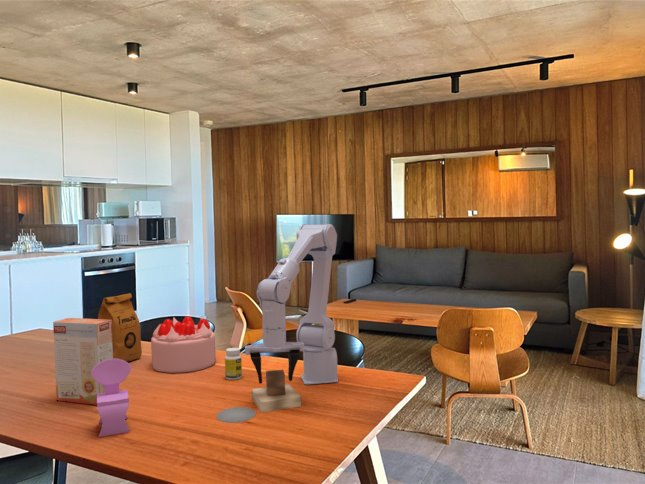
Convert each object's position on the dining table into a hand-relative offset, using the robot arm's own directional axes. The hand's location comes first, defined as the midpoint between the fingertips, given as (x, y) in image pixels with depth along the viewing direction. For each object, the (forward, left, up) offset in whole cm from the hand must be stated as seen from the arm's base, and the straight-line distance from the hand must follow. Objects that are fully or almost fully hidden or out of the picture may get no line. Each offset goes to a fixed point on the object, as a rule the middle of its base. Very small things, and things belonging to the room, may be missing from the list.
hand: (275, 381), depth 129 cm
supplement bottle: (+10, -23, -6) cm, 26 cm away
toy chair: (+37, +7, -6) cm, 38 cm away
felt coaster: (+10, +6, -6) cm, 13 cm away
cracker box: (+48, -14, -6) cm, 50 cm away
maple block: (0, 0, -6) cm, 6 cm away
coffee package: (+46, -50, -6) cm, 68 cm away
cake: (+25, -41, -6) cm, 48 cm away
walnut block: (0, 0, -3) cm, 3 cm away
